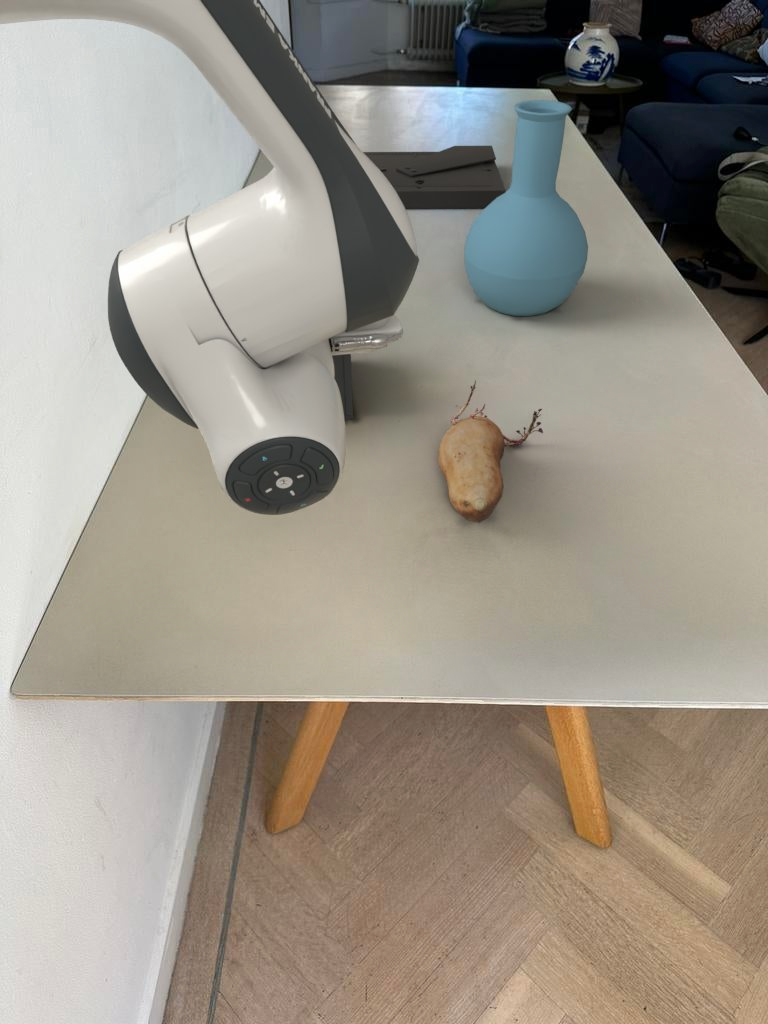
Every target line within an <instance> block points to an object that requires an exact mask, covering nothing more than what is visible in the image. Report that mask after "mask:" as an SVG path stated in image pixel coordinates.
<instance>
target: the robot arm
mask: <svg viewBox="0 0 768 1024" xmlns="http://www.w3.org/2000/svg"><path fill="white" fill-rule="evenodd" d="M52 20H94V21H95V20H97V21H107V22H116V23H121V24H125V25H129V26H130V25H131V26H134V27H137V28H140V29H144V30H147V31H149V32H151V33H153V34H155V35H158V36H160V37H161V38H163V39H164V40H166V41H167V42H169V43H171V44H172V45H174V46H175V47H176V48H177V49H178V50H179V51H181V52H182V53H183V54H184V55H185V56H186V57H187V58H188V59H189V61H190V62H191V63H192V64H193V65H194V66H195V67H196V69H197V70H198V71H199V72H200V74H201V75H202V76H203V78H204V79H205V80H206V81H207V83H208V84H209V85H210V87H211V88H212V89H213V90H214V91H215V93H216V94H217V96H218V97H219V98H220V99H221V100H222V103H224V104H225V106H226V107H227V108H228V109H229V111H230V112H231V113H232V115H233V116H234V117H235V118H236V120H237V121H238V122H239V124H240V125H241V126H242V128H243V129H244V131H246V133H247V134H248V136H249V137H250V138H251V140H252V141H253V142H254V143H255V144H256V146H257V147H258V148H259V150H260V151H261V152H262V154H263V155H264V156H265V157H266V159H267V160H268V161H269V163H270V164H271V165H272V167H273V168H271V170H270V171H269V172H268V173H267V174H266V175H265V176H263V177H262V178H260V179H259V180H257V181H255V182H253V183H251V184H249V185H247V186H245V187H243V188H241V189H240V190H238V191H236V192H233V193H232V194H229V195H228V196H225V197H224V198H222V199H220V200H218V201H216V202H214V203H212V204H210V205H208V206H207V207H205V208H202V209H201V210H199V211H197V212H195V213H193V214H191V215H190V214H189V215H186V216H184V217H181V218H180V219H178V220H176V221H174V222H172V223H170V224H168V225H166V226H164V227H162V228H161V229H158V230H157V231H154V232H153V233H150V234H149V235H147V236H145V237H144V238H142V239H140V240H138V241H136V242H134V243H132V244H131V245H129V246H127V247H126V248H124V249H121V250H119V251H118V252H117V254H116V256H115V258H114V261H113V262H112V265H111V270H110V273H109V278H108V288H107V321H108V326H109V331H110V335H111V339H112V342H113V344H114V347H115V349H116V352H117V354H118V356H119V358H120V360H121V361H122V364H123V366H125V368H126V370H127V371H128V373H129V374H130V376H131V377H132V378H133V380H134V381H135V383H136V384H137V385H138V387H140V389H141V390H142V391H143V392H144V393H145V394H146V395H147V396H148V397H149V399H151V401H153V402H154V403H155V404H156V405H157V406H158V407H159V408H161V409H162V410H163V411H165V412H166V413H168V414H169V415H170V416H171V415H172V417H174V418H176V419H178V420H179V421H181V422H182V423H184V424H186V425H187V426H189V427H192V428H194V429H196V430H199V432H200V434H201V436H202V439H203V440H204V443H205V444H206V447H207V449H208V452H209V455H210V458H211V462H212V466H213V468H214V469H213V470H214V472H215V473H214V474H215V475H216V478H217V481H218V483H219V485H220V488H221V489H222V491H223V492H224V494H225V495H226V496H227V497H228V499H229V500H230V501H231V502H232V503H234V505H236V506H238V507H239V508H241V509H242V510H245V511H247V512H249V513H254V514H259V515H266V516H267V515H268V516H279V515H286V514H290V513H294V512H297V511H299V510H302V509H305V508H308V507H310V506H312V505H314V504H316V503H318V502H320V501H322V500H324V499H326V497H328V496H329V495H330V494H331V493H332V492H333V491H334V489H335V488H336V487H337V485H338V483H339V482H340V481H341V477H342V475H343V473H344V469H345V463H346V455H347V454H346V453H347V435H346V434H347V433H346V420H344V412H343V406H342V400H341V395H340V391H339V388H338V385H337V383H336V381H335V379H334V376H335V373H334V363H333V358H332V355H344V354H351V355H353V354H366V353H371V352H376V351H380V350H382V349H384V348H387V347H388V344H389V343H393V342H396V341H399V340H401V339H402V337H403V334H404V329H403V326H402V323H401V321H400V318H399V317H397V316H396V315H395V314H396V313H397V311H398V310H399V307H400V305H401V304H402V302H403V300H404V298H405V297H406V294H407V293H408V291H409V289H410V286H411V284H412V282H413V280H414V277H415V275H416V271H417V269H418V265H419V263H420V258H419V255H418V246H417V239H416V235H415V230H414V227H413V225H412V221H411V218H410V216H409V214H408V212H407V209H405V207H404V205H403V203H402V201H401V199H400V198H399V196H398V194H397V192H396V191H395V189H394V188H393V186H392V185H391V184H390V182H389V181H388V179H387V178H386V177H385V176H384V175H383V173H382V172H381V171H380V170H379V169H378V168H377V167H376V165H375V164H374V163H373V162H372V161H371V160H370V159H369V158H368V157H367V156H366V155H365V154H364V153H363V152H364V151H362V150H361V148H360V147H359V146H358V145H357V143H356V142H355V140H354V139H353V138H352V136H351V135H350V134H349V132H348V131H347V130H346V127H344V125H343V123H342V122H341V121H340V119H339V118H338V117H337V115H336V113H335V112H334V110H333V109H332V107H331V106H330V105H329V103H328V102H327V100H326V99H325V97H324V96H323V95H322V93H321V91H320V90H319V88H318V87H317V85H316V84H315V82H314V81H313V79H312V77H311V76H310V74H309V73H308V72H307V70H306V69H305V67H304V65H303V64H302V63H301V61H300V59H299V57H298V56H297V55H296V53H295V52H294V50H293V49H292V47H291V46H290V45H289V43H288V41H287V40H286V38H285V37H284V35H283V33H282V32H281V30H280V29H279V27H278V26H277V24H276V22H275V21H274V20H273V18H272V17H271V15H270V14H269V12H268V11H267V9H266V8H265V6H264V5H263V3H262V2H261V0H0V25H7V24H17V23H27V22H39V21H52Z"/></svg>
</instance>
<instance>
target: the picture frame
mask: <svg viewBox="0 0 768 1024" xmlns="http://www.w3.org/2000/svg"><path fill="white" fill-rule="evenodd" d="M362 152H363V153H364V154H365V155H366V156H367V157H368V158H369V159H370V160H371V161H372V162H373V163H374V164H375V165H376V167H377V168H378V169H379V170H380V171H381V172H382V173H383V175H384V176H385V177H386V178H387V179H388V181H389V182H390V184H391V185H392V186H393V188H394V189H395V191H396V192H397V194H398V196H399V198H400V199H401V201H402V203H403V205H404V207H405V209H406V210H407V209H410V210H411V209H416V210H417V209H422V210H423V209H485V208H486V207H487V206H488V205H489V204H490V203H491V202H493V201H494V200H495V199H496V198H497V197H499V196H500V195H502V194H504V193H505V192H506V191H507V190H506V188H505V185H504V181H503V179H502V177H501V174H500V171H499V168H498V166H497V163H496V160H497V157H496V154H495V151H494V148H493V145H452V146H450V147H448V148H445V149H443V150H440V151H362Z"/></svg>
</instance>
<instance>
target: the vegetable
mask: <svg viewBox="0 0 768 1024" xmlns="http://www.w3.org/2000/svg"><path fill="white" fill-rule="evenodd" d="M476 383H477V380H475V381H474V384H473V385H470V389H471V390H470V393H469V395H468V397H467V400H466V402H465V404H464V406H463V407H460V406H459V405H455V408H459V412H458V413H456V414H454V415H453V416H452V417H451V418H450V423H451V424H452V425H451V427H449V428H448V430H447V431H446V432H445V434H444V435H443V437H442V439H441V440H440V443H439V447H438V451H437V452H438V453H437V461H438V465H439V466H438V467H439V469H440V471H441V473H442V475H443V476H444V479H445V480H446V483H447V489H448V498H449V501H450V504H451V505H452V507H453V509H454V510H455V511H457V513H458V514H459V515H461V516H462V517H463V518H465V519H467V520H469V521H471V522H475V523H481V522H482V521H485V520H486V519H488V518H489V517H490V516H491V514H492V513H493V511H494V509H495V508H496V506H497V505H498V504H499V502H500V501H501V499H502V497H503V493H504V492H503V491H504V488H505V487H504V479H503V474H502V469H501V460H502V459H503V456H504V454H505V448H506V447H510V448H511V447H512V448H514V447H519V446H521V445H522V444H523V443H524V442H526V441H527V439H528V437H529V435H531V434H532V433H534V432H539V433H541V434H544V430H543V428H542V427H539V426H540V425H542V422H541V421H537V419H538V418H539V417H540V416H542V413H541V414H539V413H540V412H542V410H543V408H538V409H537V411H536V410H534V411H533V414H532V421H531V423H530V424H529V427H528V429H527V428H526V427H525V426H523V433H521V431H520V430H519V429H518V430H515V432H516V433H517V434H519V435H520V436H521V438H519V439H513V438H509V437H507V436H506V435H504V434H503V432H502V430H501V428H500V427H499V426H498V424H496V423H495V422H494V421H492V420H491V419H489V418H488V415H486V414H484V413H483V411H484V409H485V406H486V403H484V404H483V406H482V408H481V409H478V408H479V407H477V408H476V410H475V411H474V412H473V413H471V414H470V416H469V417H466V418H463V419H460V420H458V419H459V417H460V416H461V415H462V413H464V411H466V408H467V407H468V406H469V403H470V401H471V398H472V396H473V394H474V392H475V391H474V390H475V389H476V388H477V387H476ZM479 414H480V415H479ZM457 420H458V421H457ZM536 421H537V422H536ZM535 423H536V426H535ZM537 427H539V428H538V429H536V428H537ZM526 430H527V431H526Z"/></svg>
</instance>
